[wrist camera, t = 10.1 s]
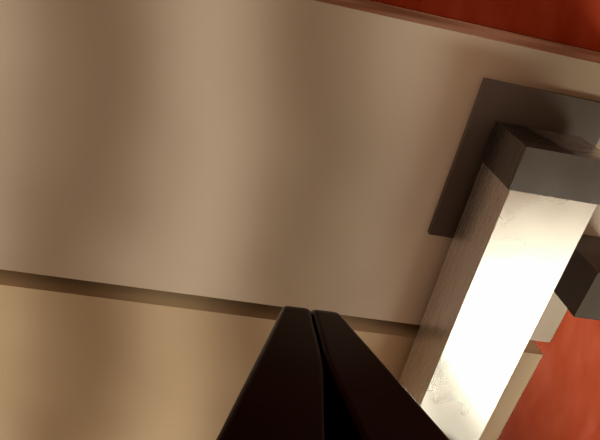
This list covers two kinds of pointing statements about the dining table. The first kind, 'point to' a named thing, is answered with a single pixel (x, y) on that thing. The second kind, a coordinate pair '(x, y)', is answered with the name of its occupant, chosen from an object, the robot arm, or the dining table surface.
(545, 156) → the latch bar
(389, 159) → the wooden case with bar
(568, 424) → the dining table surface
